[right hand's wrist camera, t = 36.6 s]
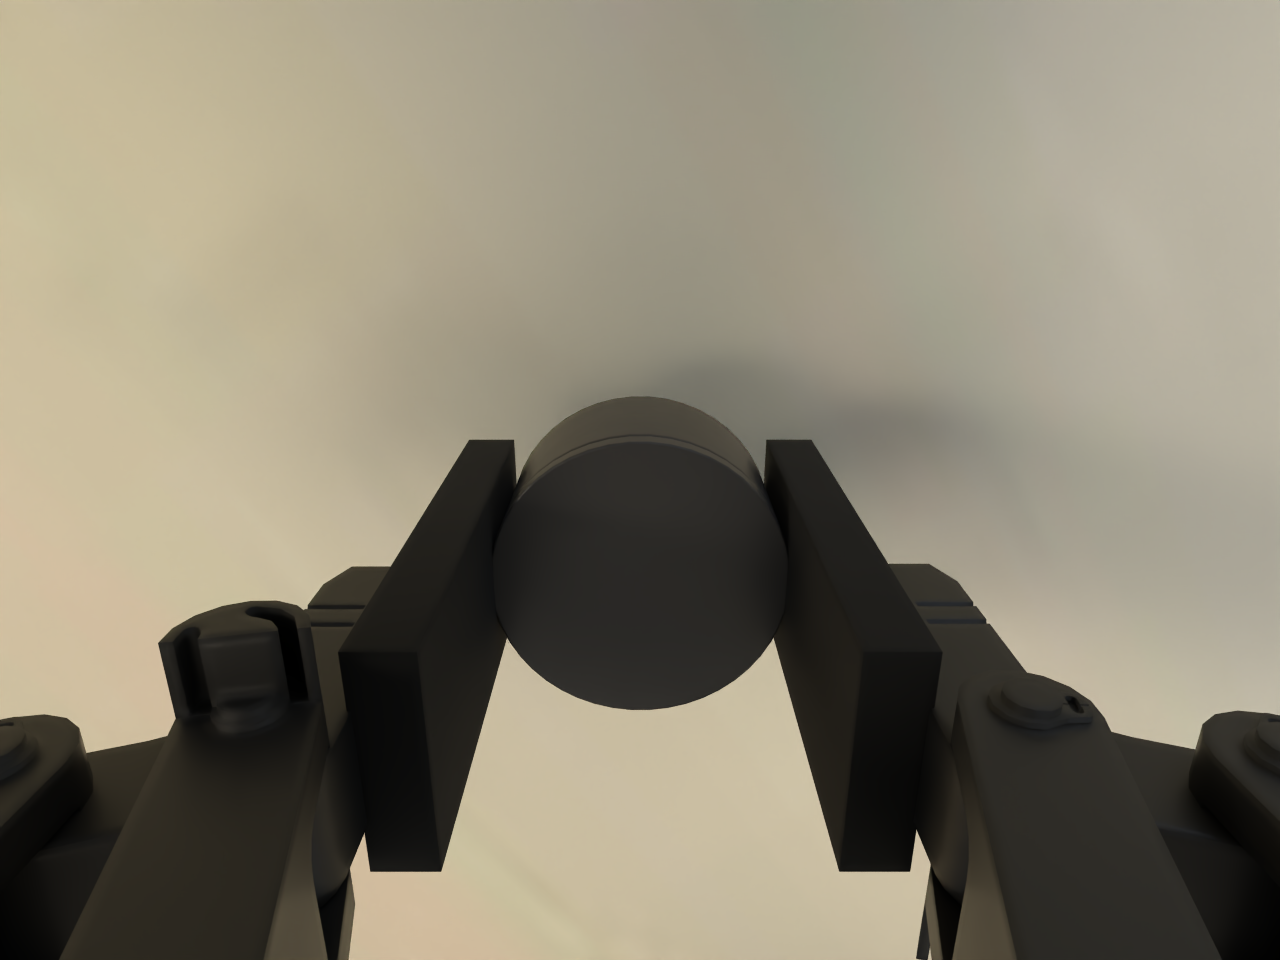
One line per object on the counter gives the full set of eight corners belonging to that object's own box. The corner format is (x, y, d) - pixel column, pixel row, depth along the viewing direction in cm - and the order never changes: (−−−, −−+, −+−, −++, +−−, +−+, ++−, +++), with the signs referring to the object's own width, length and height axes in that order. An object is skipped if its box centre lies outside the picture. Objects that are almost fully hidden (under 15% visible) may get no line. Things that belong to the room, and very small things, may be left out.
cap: (818, 528, 14) (851, 597, 12) (629, 670, 15) (627, 758, 13) (652, 341, 13) (655, 377, 11) (460, 507, 14) (426, 572, 12)
